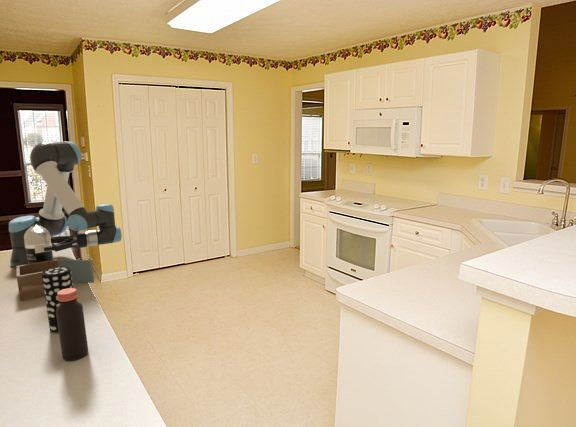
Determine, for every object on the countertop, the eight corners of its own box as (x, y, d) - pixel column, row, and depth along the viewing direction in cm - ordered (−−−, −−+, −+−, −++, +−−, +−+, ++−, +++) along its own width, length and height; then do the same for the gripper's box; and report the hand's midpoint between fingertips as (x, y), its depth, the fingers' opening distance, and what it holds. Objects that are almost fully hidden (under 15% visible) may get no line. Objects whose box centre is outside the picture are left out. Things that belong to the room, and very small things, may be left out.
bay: (20, 288, 170) (16, 266, 168) (60, 280, 178) (57, 259, 176) (20, 301, 157) (16, 276, 155) (63, 292, 165) (60, 269, 163)
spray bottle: (44, 281, 177) (35, 227, 172) (24, 280, 179) (15, 226, 174) (61, 273, 187) (54, 221, 182) (42, 272, 189) (34, 221, 184)
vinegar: (82, 346, 122) (74, 284, 118) (92, 353, 118) (84, 290, 114) (58, 356, 117) (49, 292, 113) (68, 364, 113) (59, 298, 109)
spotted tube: (51, 324, 137) (43, 268, 133) (78, 319, 140) (71, 265, 136) (48, 335, 129) (39, 276, 125) (77, 329, 133) (69, 272, 129)
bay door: (62, 281, 178) (59, 259, 176) (63, 280, 179) (60, 258, 177) (92, 282, 175) (90, 261, 173) (94, 282, 176) (91, 260, 174)
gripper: (91, 252, 181) (36, 261, 169) (83, 241, 201) (34, 248, 189) (89, 236, 179) (34, 244, 168) (81, 226, 200) (31, 233, 188)
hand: (34, 246), depth 179 cm, fingers open, 13 cm apart
